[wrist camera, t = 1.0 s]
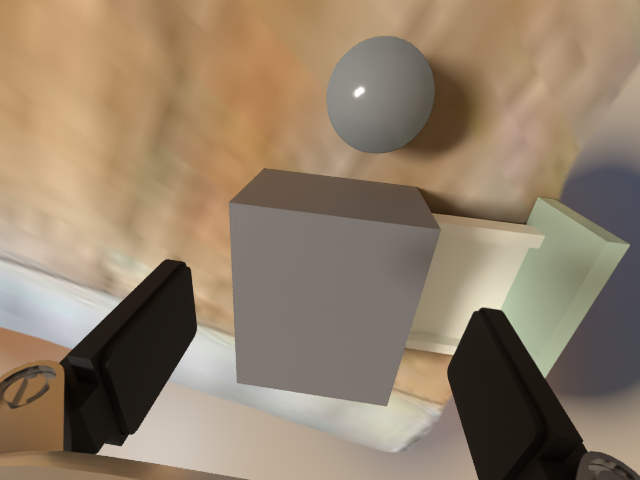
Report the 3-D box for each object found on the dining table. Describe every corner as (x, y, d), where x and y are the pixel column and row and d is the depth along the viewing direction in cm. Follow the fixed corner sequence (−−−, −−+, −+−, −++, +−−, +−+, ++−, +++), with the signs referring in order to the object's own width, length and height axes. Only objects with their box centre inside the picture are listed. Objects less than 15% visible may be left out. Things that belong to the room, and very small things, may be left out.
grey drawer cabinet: (416, 187, 28) (441, 229, 20) (380, 334, 36) (386, 406, 28) (264, 168, 29) (228, 202, 21) (262, 317, 37) (236, 382, 29)
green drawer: (554, 199, 27) (630, 244, 19) (481, 354, 36) (513, 426, 28) (395, 179, 28) (409, 216, 20) (361, 337, 36) (362, 403, 29)
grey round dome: (334, 33, 20) (332, 30, 19) (442, 44, 20) (448, 42, 19) (323, 143, 24) (321, 147, 22) (416, 154, 23) (420, 159, 22)
